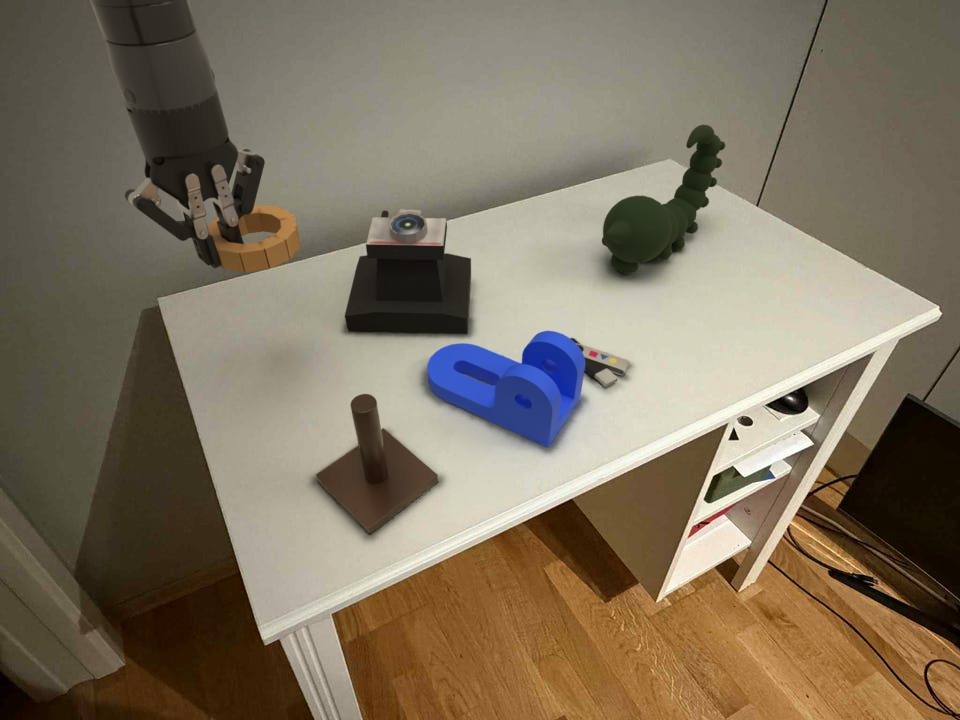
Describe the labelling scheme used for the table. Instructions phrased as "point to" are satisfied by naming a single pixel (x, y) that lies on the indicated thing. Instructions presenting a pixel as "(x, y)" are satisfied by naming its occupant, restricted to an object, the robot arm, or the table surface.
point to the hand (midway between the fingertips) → (223, 259)
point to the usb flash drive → (602, 364)
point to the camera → (409, 279)
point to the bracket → (513, 384)
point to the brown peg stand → (375, 471)
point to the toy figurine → (663, 211)
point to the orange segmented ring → (259, 252)
